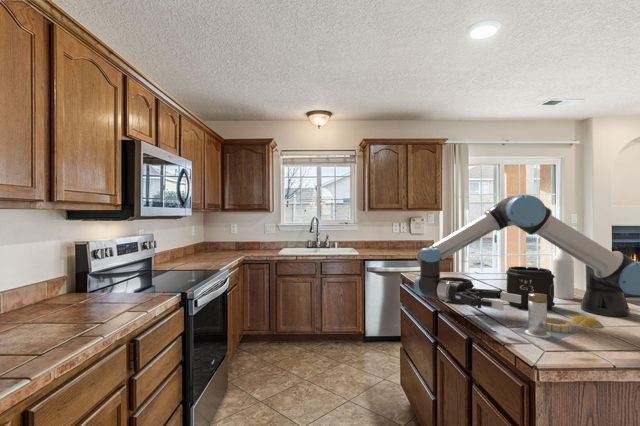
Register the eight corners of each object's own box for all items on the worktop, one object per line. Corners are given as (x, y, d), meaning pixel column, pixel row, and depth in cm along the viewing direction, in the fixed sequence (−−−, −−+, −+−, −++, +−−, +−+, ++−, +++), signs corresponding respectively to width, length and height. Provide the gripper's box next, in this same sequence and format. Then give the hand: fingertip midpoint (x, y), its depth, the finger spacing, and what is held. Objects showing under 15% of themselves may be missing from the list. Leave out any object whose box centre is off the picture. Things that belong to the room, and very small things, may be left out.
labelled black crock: (540, 301, 157) (540, 266, 157) (564, 312, 139) (563, 272, 139) (498, 300, 158) (498, 265, 159) (516, 311, 141) (516, 272, 141)
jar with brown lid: (541, 330, 112) (541, 292, 112) (550, 335, 107) (550, 296, 107) (525, 330, 112) (525, 292, 112) (533, 335, 107) (533, 296, 107)
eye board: (541, 324, 123) (541, 314, 123) (581, 334, 113) (581, 323, 113) (511, 335, 112) (511, 324, 112) (553, 347, 102) (553, 335, 102)
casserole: (432, 290, 179) (432, 274, 179) (472, 293, 173) (472, 276, 173) (434, 302, 155) (434, 283, 155) (480, 305, 149) (480, 286, 149)
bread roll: (581, 323, 125) (581, 312, 125) (608, 331, 116) (607, 319, 116) (563, 325, 123) (563, 314, 123) (588, 333, 114) (588, 321, 114)
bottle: (556, 298, 161) (556, 233, 161) (550, 295, 168) (550, 232, 169) (577, 300, 158) (576, 234, 158) (569, 296, 166) (569, 233, 166)
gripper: (469, 296, 139) (527, 307, 123) (433, 307, 123) (494, 321, 107) (469, 277, 139) (527, 286, 123) (433, 286, 123) (494, 296, 107)
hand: (512, 302), depth 115 cm, fingers open, 13 cm apart
